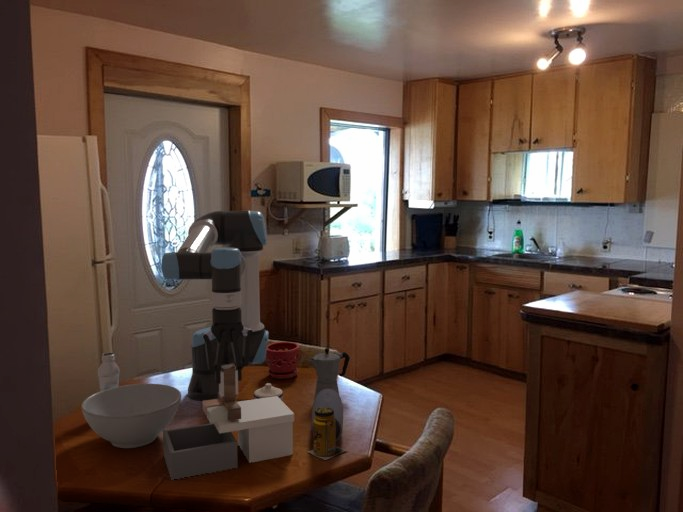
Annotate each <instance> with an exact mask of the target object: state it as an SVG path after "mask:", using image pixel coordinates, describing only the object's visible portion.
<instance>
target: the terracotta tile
mask: <svg viewBox="0 0 683 512" xmlns="http://www.w3.org/2000/svg"><path fill="white" fill-rule="evenodd" d="M217 406H223V404H222V402H221V401H220V399H212V400H202V411H203V413H204V415H205V416H207V408H210V407H217Z"/></svg>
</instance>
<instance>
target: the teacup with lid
mask: <svg viewBox="0 0 683 512" xmlns="http://www.w3.org/2000/svg"><path fill="white" fill-rule="evenodd" d="M283 395H284V392H283V390H282V389H281V388H279V387H275V386H273V385H272V383H269V382H267V383H265V384H264V386H262V387H261V388H258V389H256V390H255V391H254V392H253V398H254V399H260V398H267V397H274V396H278V397H279V398H280V399H281V400H282V401H283Z"/></svg>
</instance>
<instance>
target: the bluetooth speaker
mask: <svg viewBox="0 0 683 512" xmlns="http://www.w3.org/2000/svg"><path fill="white" fill-rule="evenodd" d="M341 398H342V397H341V396H340V393H339V394H338V393H337V392H336V391H335V390H332V389H324V390H322V391H320V392H319V393H318V394H317V396H316V398H314V401H313V405H312V411H311V431H312V432H311V433H312V436H313V437H314V425H313V423H314V419H315V410H316V409H318V408H321V407H328V408H332V409H333V410H334V419H335V421H336V442H337V441H338V440H339V439H340V438H341V436H342V432H343V428H344V408H343V401H342V399H341Z"/></svg>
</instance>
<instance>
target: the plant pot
mask: <svg viewBox="0 0 683 512" xmlns="http://www.w3.org/2000/svg"><path fill="white" fill-rule="evenodd" d="M286 349H287V350H286ZM265 361H266V363H267V364H266V365H267V367H268V375H269V376H270V377H271V378H273V379H281V380H285V379H286V380H287V379H291V378H293V377H295V376H296V375H297V374H298V373H299V369H298V368H297V367H298V365H299V361H300V345H299V344H298V343H296V342H291V341H278V342H274V343H270V344H267V351H266V358H265Z"/></svg>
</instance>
